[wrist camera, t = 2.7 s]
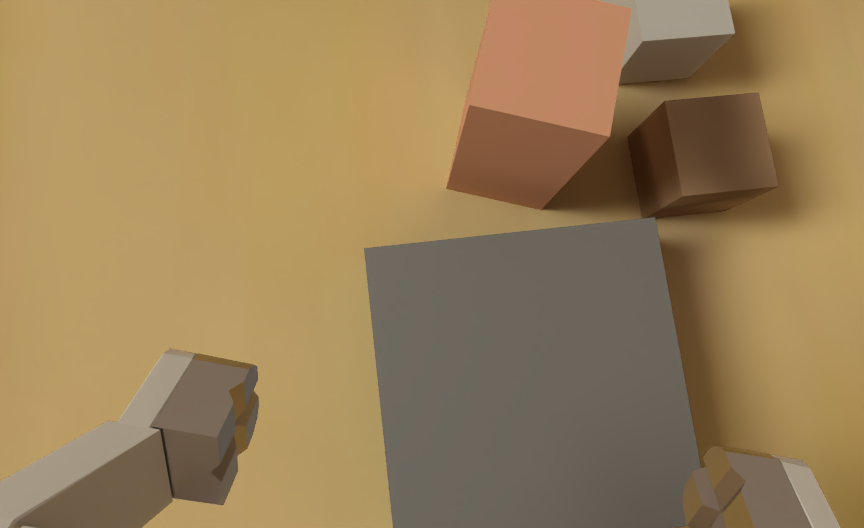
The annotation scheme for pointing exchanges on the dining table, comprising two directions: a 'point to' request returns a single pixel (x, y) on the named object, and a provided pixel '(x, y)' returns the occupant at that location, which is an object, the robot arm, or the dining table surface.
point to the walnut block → (701, 155)
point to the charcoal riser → (531, 380)
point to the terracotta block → (538, 97)
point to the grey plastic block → (672, 37)
